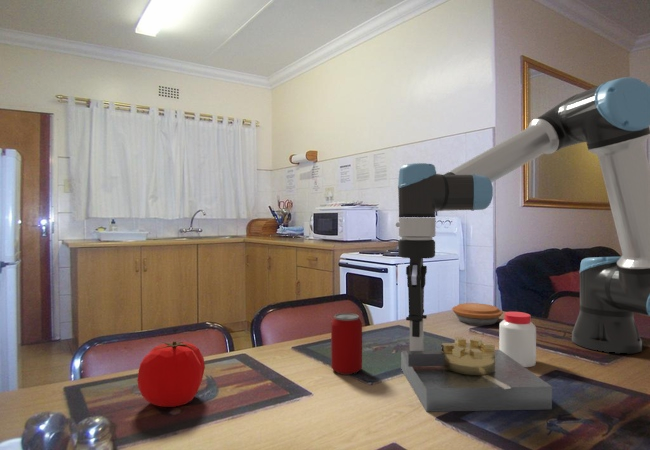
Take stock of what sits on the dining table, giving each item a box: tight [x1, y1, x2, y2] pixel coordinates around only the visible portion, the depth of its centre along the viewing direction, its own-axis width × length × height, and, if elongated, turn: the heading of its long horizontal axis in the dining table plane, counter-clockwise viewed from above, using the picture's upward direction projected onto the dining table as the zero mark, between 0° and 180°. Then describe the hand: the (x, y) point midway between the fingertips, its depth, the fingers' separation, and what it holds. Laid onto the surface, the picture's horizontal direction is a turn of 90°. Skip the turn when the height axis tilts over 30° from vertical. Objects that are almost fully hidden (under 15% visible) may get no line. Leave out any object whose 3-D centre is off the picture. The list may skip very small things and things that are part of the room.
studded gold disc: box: [405, 336, 496, 375], centre depth 82 cm, size 17×10×4 cm, turn 92°
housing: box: [400, 349, 553, 413], centre depth 81 cm, size 22×21×4 cm
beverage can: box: [330, 312, 363, 375], centre depth 91 cm, size 7×7×12 cm
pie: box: [451, 302, 504, 326], centre depth 135 cm, size 16×16×5 cm
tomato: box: [136, 340, 206, 408], centre depth 76 cm, size 12×12×11 cm
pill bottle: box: [498, 311, 537, 368], centre depth 96 cm, size 8×8×11 cm
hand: (416, 350), depth 87 cm, fingers closed
